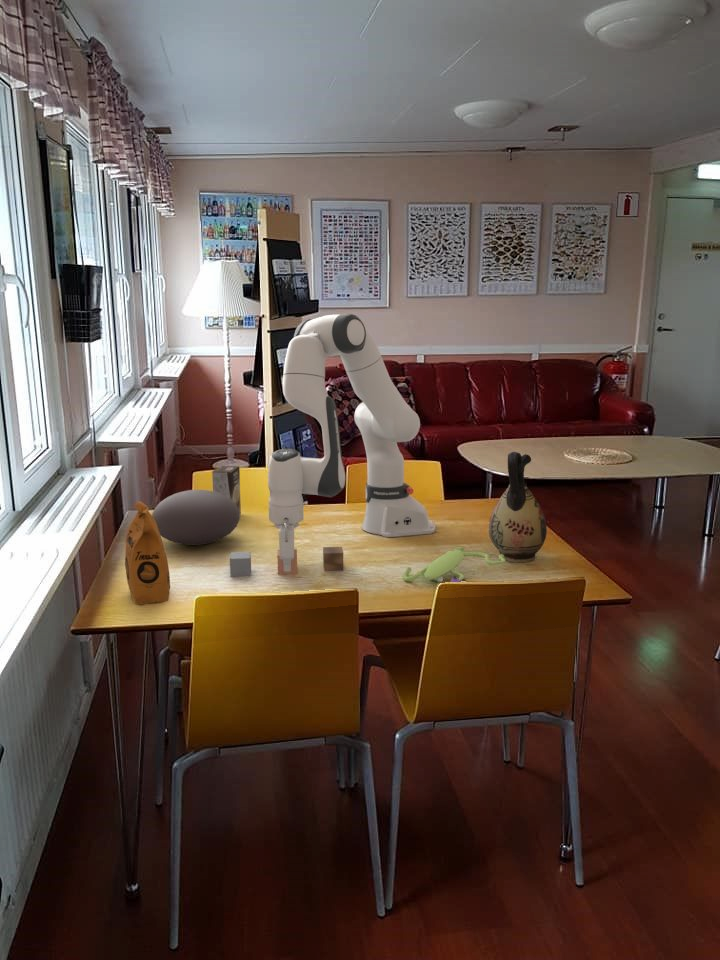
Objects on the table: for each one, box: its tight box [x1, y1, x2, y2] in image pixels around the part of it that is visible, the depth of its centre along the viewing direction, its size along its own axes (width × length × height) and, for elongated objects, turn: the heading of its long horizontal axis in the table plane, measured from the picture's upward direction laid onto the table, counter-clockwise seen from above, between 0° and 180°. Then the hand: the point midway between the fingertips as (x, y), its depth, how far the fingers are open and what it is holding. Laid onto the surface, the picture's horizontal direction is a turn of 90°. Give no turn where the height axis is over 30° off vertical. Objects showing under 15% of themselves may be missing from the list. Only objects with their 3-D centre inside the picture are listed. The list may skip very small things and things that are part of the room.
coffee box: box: [211, 465, 242, 515], centre depth 243 cm, size 9×6×16 cm
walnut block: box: [322, 546, 344, 572], centre depth 200 cm, size 5×5×5 cm
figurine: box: [402, 546, 507, 583], centre depth 195 cm, size 18×26×6 cm
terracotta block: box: [276, 548, 298, 575], centre depth 198 cm, size 5×5×5 cm
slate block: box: [229, 551, 252, 578], centre depth 196 cm, size 5×5×5 cm
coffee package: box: [124, 501, 171, 605], centre depth 179 cm, size 10×12×22 cm
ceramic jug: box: [488, 451, 548, 563], centre depth 204 cm, size 17×15×30 cm
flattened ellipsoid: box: [151, 489, 241, 546], centre depth 219 cm, size 25×25×15 cm
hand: (287, 564), depth 198 cm, fingers open, 8 cm apart
